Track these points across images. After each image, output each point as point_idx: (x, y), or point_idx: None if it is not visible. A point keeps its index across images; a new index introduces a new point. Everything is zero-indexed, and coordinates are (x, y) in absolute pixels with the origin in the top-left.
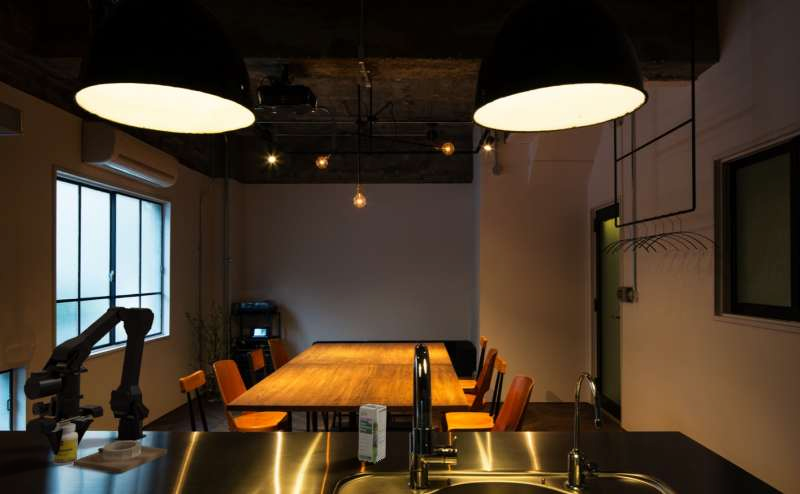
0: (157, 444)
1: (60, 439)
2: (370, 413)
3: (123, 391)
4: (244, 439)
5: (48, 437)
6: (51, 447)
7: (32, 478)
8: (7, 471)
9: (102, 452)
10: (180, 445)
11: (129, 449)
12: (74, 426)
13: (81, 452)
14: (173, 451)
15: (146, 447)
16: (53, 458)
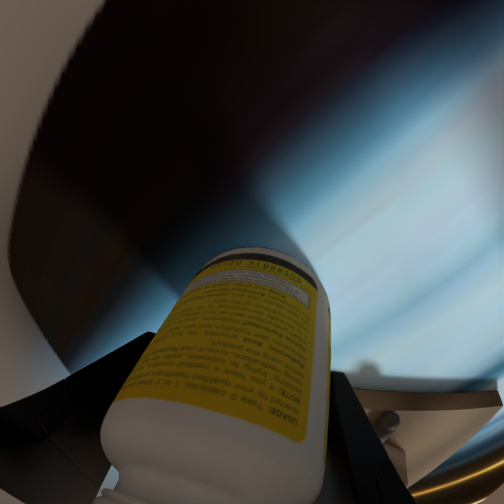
0: (487, 443)
1: (102, 463)
2: None
3: None
4: (459, 500)
5: (29, 413)
6: (105, 359)
7: (61, 294)
8: (49, 101)
9: (373, 426)
10: (457, 474)
11: None
12: None
13: (461, 273)
14: (410, 486)
15: (419, 475)
16: (196, 277)
